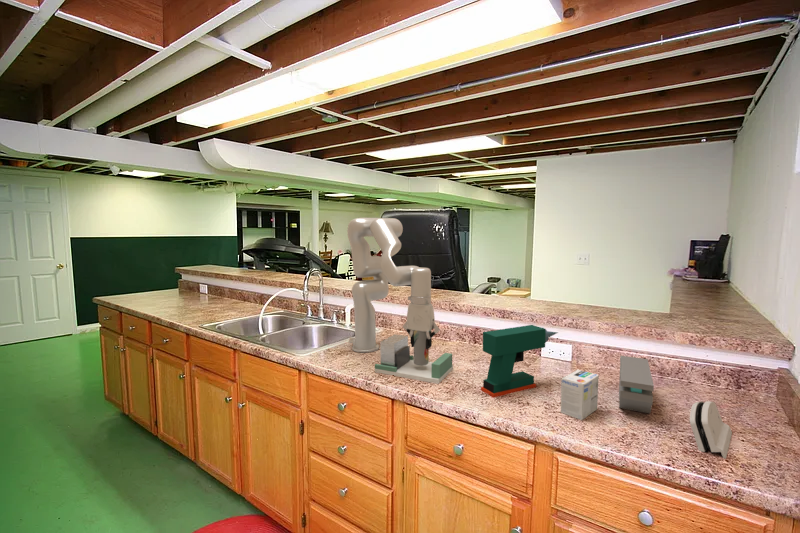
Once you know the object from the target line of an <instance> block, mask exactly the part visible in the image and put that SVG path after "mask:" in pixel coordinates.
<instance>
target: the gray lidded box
mask: <svg viewBox="0 0 800 533" xmlns="http://www.w3.org/2000/svg"><path fill="white" fill-rule="evenodd" d="M619 365H620V366H619V383H618V384H619V385H618V388H619V389H618V405H619V406H618V408H619V409H624V410H630V411H634V412H639V413H645V414H651V411H652V409H653V408H652V407H653V403H654V402H653V400H654V394H653V392H654V387H655V385H654V381H653V376H652V372H651V368H650V363H649V359H648V358H641V357H633V356H627V355H620V357H619Z"/></svg>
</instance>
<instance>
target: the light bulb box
mask: <svg viewBox="0 0 800 533" xmlns="http://www.w3.org/2000/svg"><path fill="white" fill-rule="evenodd" d="M599 376H600V375H599V374H597V373H592V372H588V371H585V370H580V369H575V370H574V371H573V372H571V373H569V374H567V375H565V376H563V377H562V378H561V384H560V385H561V387H560V388H561V389H560V413H561V414H564V415H566V416H569V417H572V418H575V419H576V420H580V421H583V420H585V419H586V418H587V417H588V416H590V415H591V414H593V413H594V412H595V411H596V410H598V401H599V400H598V399H599V378H600V377H599Z"/></svg>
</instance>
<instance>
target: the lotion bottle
mask: <svg viewBox="0 0 800 533" xmlns="http://www.w3.org/2000/svg"><path fill="white" fill-rule="evenodd" d="M426 339H427V335H426V332H422V331H418V330H416V331H414V347H413V359H414V364H416V365H420V366H423V365H427V364H428V362H429V358H430V357H429V351H430V348H429V349H426Z"/></svg>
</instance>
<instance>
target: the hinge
mask: <svg viewBox="0 0 800 533" xmlns="http://www.w3.org/2000/svg"><path fill="white" fill-rule="evenodd" d="M722 418H723V417H721V414H720V412H719V409H718V407H717V404H716V402H714V401H710V400H709V401H708V400H707V401H697V402H694V403H693V404H692V405H691V408H690V412H689V424H690V427H691V430H692V433H693V437H694V439H695V442H696V446H697V449H698V451H700V452H702V453H703V452H704V453H705V452H706V451H707V450H708V451H710V452H711V453H721V456H722V458H723V459H725V460H726V459H727V455H728V452H729V448H730V444H731V439H732V434H733V432H732V429H731V426H730V425H729V424H727V423H725V422H724V421H723V419H722Z"/></svg>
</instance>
